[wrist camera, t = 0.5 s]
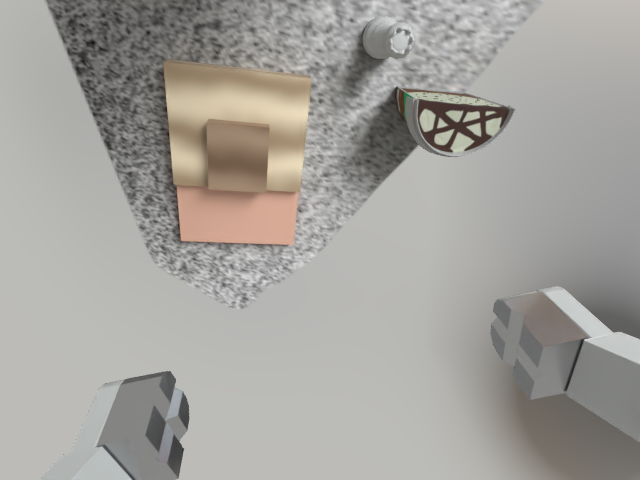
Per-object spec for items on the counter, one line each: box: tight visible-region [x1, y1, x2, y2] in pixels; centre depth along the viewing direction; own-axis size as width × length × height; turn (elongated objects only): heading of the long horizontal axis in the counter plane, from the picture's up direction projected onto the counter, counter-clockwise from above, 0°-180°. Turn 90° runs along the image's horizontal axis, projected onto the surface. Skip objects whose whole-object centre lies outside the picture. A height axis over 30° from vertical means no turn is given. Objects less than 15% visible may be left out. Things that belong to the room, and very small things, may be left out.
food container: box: [396, 86, 516, 157], centre depth 44 cm, size 12×6×10 cm, turn 84°
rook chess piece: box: [363, 16, 414, 59], centre depth 40 cm, size 4×4×8 cm
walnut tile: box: [206, 119, 270, 193], centre depth 44 cm, size 8×7×2 cm
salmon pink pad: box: [177, 185, 299, 245], centre depth 51 cm, size 9×16×2 cm, turn 83°
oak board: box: [163, 59, 312, 192], centre depth 45 cm, size 14×16×3 cm
